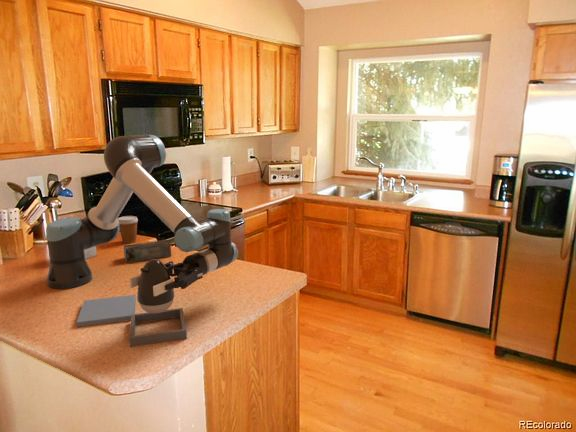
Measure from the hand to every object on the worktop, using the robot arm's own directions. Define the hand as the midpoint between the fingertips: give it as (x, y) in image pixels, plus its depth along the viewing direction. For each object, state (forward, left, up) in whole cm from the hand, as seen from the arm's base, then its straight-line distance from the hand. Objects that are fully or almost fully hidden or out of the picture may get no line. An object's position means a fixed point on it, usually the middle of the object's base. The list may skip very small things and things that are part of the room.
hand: (142, 287), depth 120 cm
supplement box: (-28, +82, -15) cm, 88 cm away
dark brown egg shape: (+3, +3, -9) cm, 10 cm away
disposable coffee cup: (-9, +100, -15) cm, 101 cm away
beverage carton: (0, +73, -16) cm, 74 cm away
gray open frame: (+3, +3, -15) cm, 16 cm away
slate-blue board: (-12, +20, -15) cm, 28 cm away
